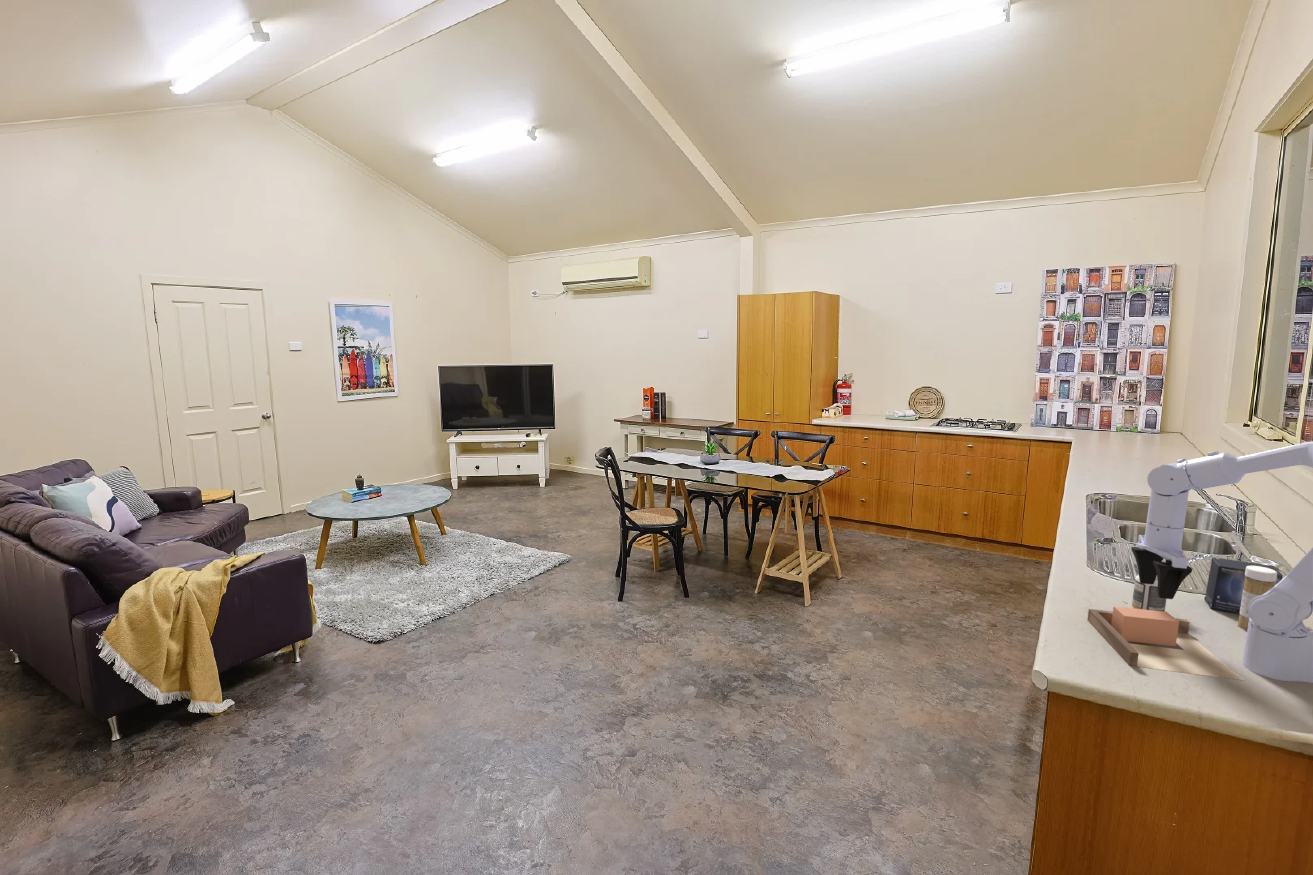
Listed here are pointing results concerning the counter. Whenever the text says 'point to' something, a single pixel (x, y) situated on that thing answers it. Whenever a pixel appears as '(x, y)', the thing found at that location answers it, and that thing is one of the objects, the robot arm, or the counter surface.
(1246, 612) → the sprinkles bottle
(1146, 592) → the pill bottle
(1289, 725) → the counter surface
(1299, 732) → the counter surface
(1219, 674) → the tray
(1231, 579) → the small box
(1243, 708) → the counter surface
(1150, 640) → the terracotta bar
